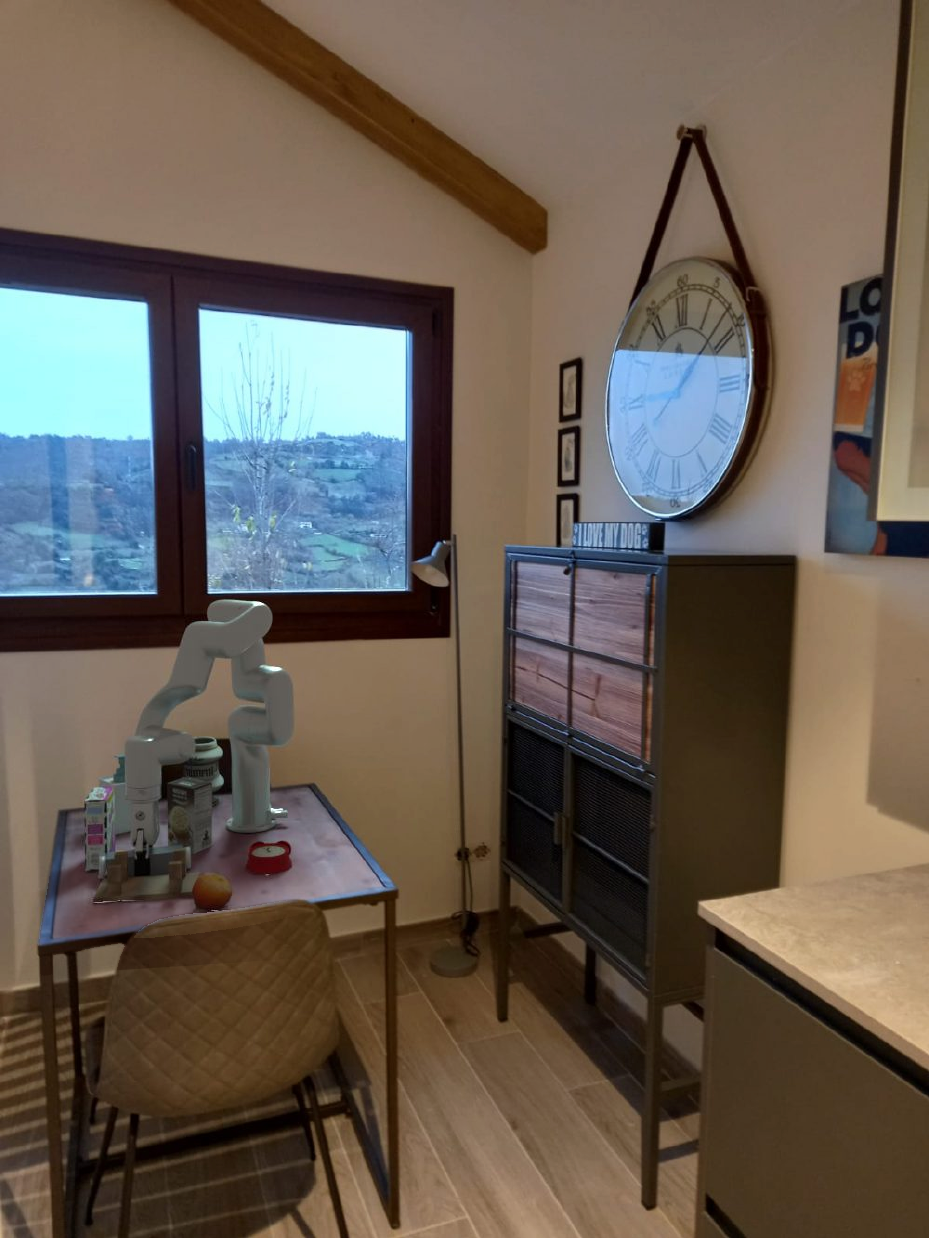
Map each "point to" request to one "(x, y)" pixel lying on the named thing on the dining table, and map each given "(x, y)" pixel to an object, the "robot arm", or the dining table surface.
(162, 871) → the power strip
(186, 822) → the coffee box
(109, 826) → the candy bar box
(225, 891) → the fruit
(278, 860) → the alarm clock
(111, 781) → the soap bottle
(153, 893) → the rack
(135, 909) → the dining table surface
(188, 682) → the robot arm
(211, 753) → the apothecary jar
